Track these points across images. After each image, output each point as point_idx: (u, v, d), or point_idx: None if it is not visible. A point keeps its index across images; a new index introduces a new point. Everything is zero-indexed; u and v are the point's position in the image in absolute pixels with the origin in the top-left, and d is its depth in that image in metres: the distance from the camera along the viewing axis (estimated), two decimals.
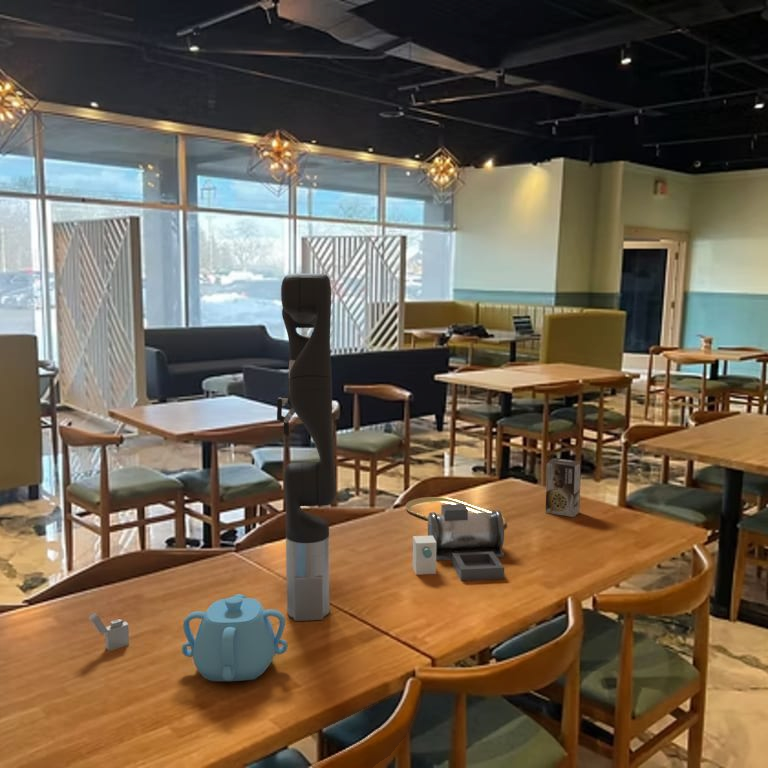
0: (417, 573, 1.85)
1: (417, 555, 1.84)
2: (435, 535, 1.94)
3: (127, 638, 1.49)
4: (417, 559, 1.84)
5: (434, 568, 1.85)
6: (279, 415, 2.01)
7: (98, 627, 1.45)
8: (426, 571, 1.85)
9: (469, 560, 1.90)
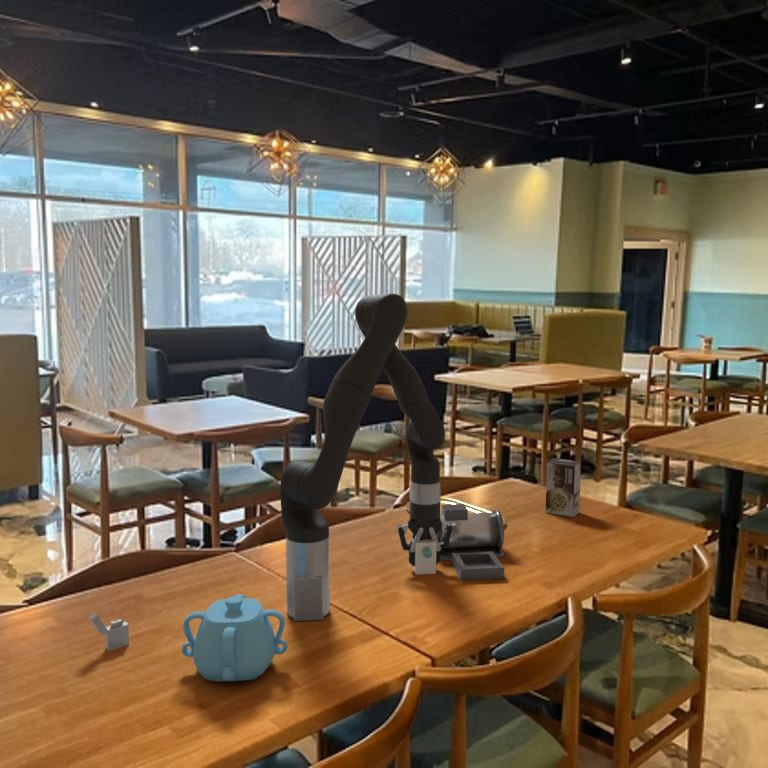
0: (417, 572, 1.85)
1: (417, 555, 1.84)
2: None
3: (127, 638, 1.49)
4: (417, 559, 1.84)
5: (434, 568, 1.85)
6: (404, 544, 1.85)
7: (98, 627, 1.45)
8: (426, 571, 1.85)
9: (469, 560, 1.90)
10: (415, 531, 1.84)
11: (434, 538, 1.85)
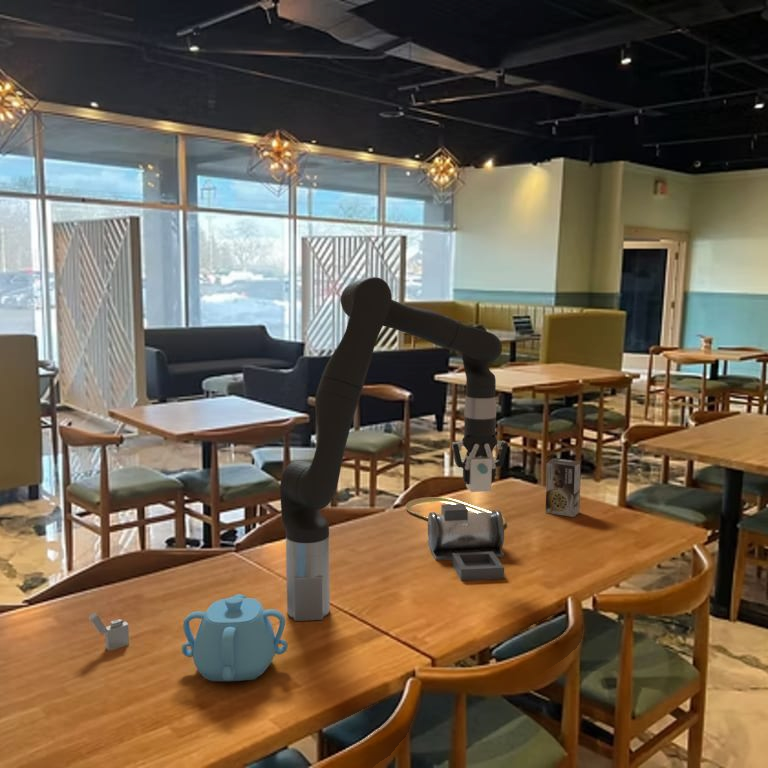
0: (472, 490, 1.81)
1: (472, 472, 1.81)
2: (435, 535, 1.94)
3: (127, 638, 1.49)
4: (472, 476, 1.81)
5: (489, 485, 1.82)
6: (459, 461, 1.81)
7: (98, 627, 1.45)
8: (481, 488, 1.81)
9: (469, 560, 1.90)
10: (470, 448, 1.81)
11: (489, 455, 1.81)
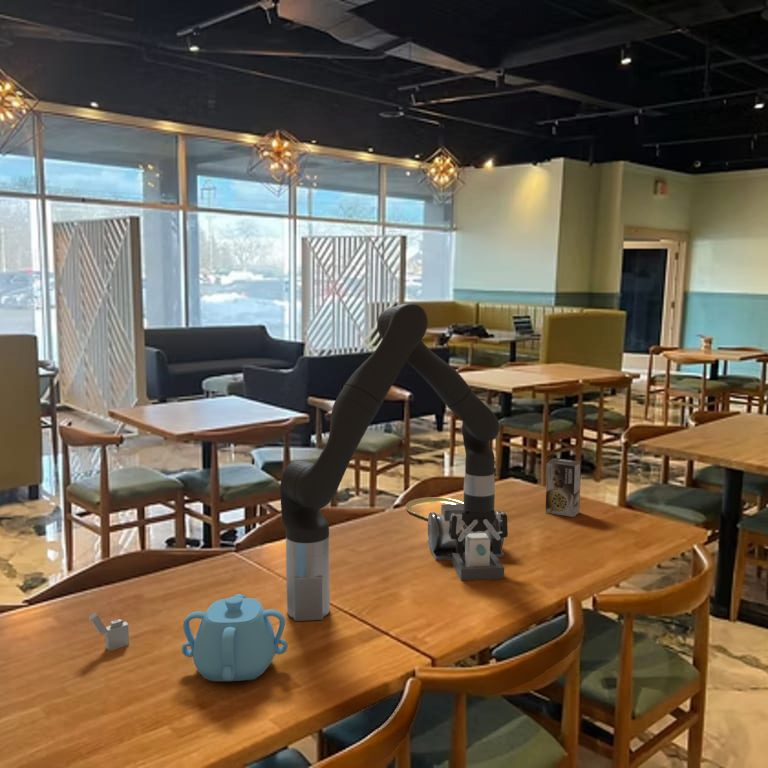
0: None
1: (471, 552, 1.83)
2: (435, 535, 1.94)
3: (127, 638, 1.49)
4: (471, 557, 1.84)
5: None
6: (453, 533, 1.83)
7: (98, 627, 1.45)
8: None
9: None
10: (469, 522, 1.84)
11: (491, 529, 1.84)
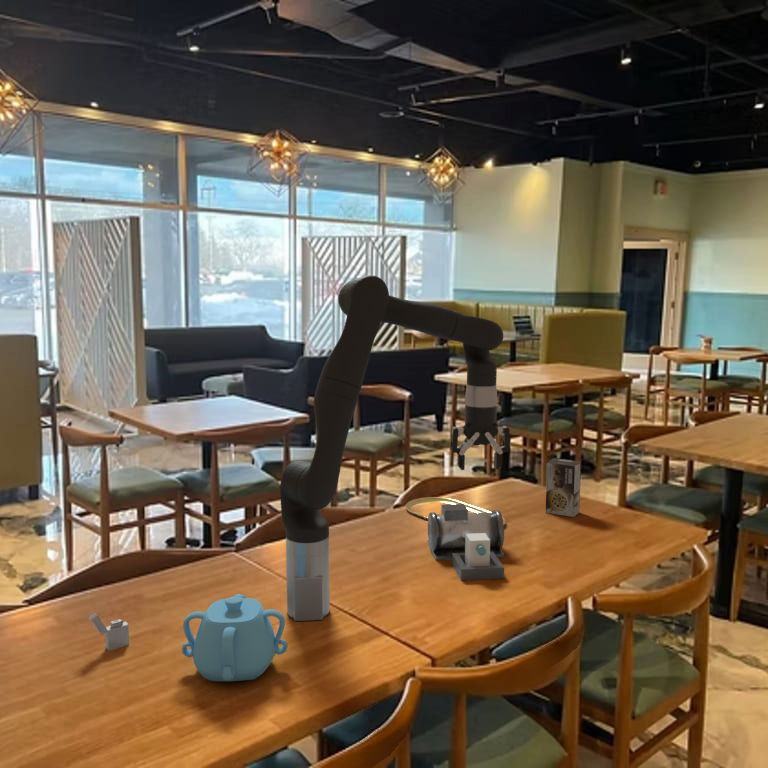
0: None
1: (471, 552, 1.83)
2: (435, 535, 1.94)
3: (127, 638, 1.49)
4: (471, 557, 1.84)
5: None
6: (454, 447, 1.80)
7: (98, 627, 1.45)
8: None
9: None
10: (470, 435, 1.80)
11: (493, 442, 1.81)
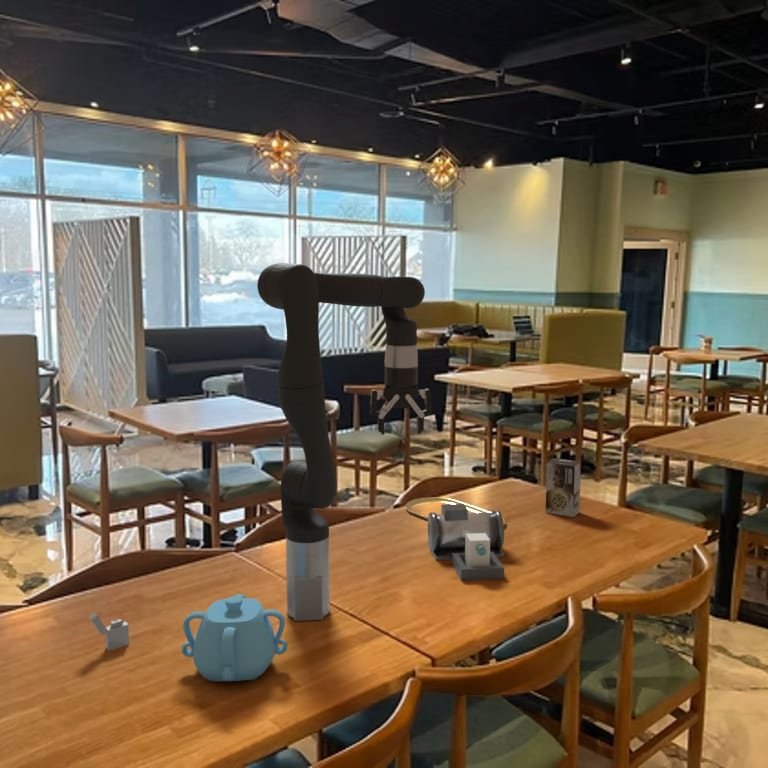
0: None
1: (471, 552, 1.83)
2: (435, 535, 1.94)
3: (127, 638, 1.49)
4: (471, 557, 1.84)
5: None
6: (373, 410, 1.72)
7: (98, 627, 1.45)
8: None
9: None
10: (390, 397, 1.73)
11: (414, 405, 1.73)
